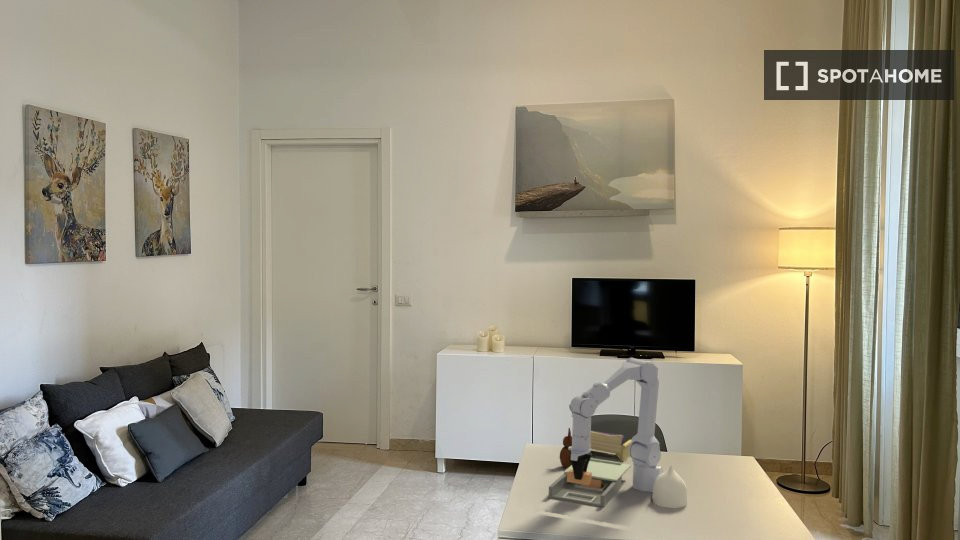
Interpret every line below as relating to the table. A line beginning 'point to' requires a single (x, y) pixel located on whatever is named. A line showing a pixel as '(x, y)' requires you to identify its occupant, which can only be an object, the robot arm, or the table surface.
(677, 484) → the teardrop
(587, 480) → the block
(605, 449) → the toy sofa
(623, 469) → the lid
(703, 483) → the table surface
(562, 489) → the housing
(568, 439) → the wooden figurine
